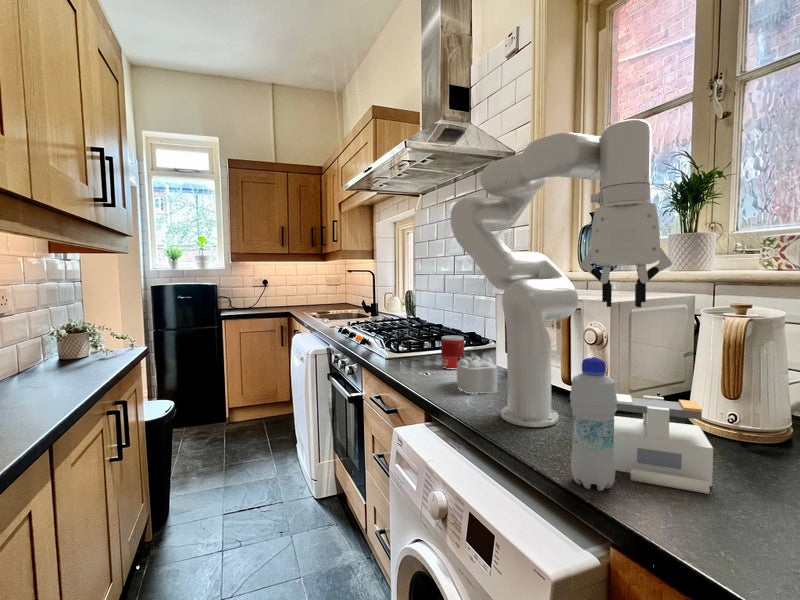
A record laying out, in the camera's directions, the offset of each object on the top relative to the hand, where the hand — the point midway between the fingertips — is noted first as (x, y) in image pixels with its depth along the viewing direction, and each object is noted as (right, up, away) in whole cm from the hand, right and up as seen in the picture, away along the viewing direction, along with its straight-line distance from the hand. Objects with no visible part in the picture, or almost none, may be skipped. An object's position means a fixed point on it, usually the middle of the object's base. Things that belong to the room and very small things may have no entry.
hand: (623, 305), depth 71 cm
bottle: (-8, -28, -6) cm, 30 cm away
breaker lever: (+5, -17, -1) cm, 18 cm away
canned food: (-20, -23, +74) cm, 80 cm away
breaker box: (+5, -27, 0) cm, 28 cm away
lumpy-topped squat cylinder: (-17, -25, +49) cm, 57 cm away
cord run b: (+3, -28, -8) cm, 29 cm away
